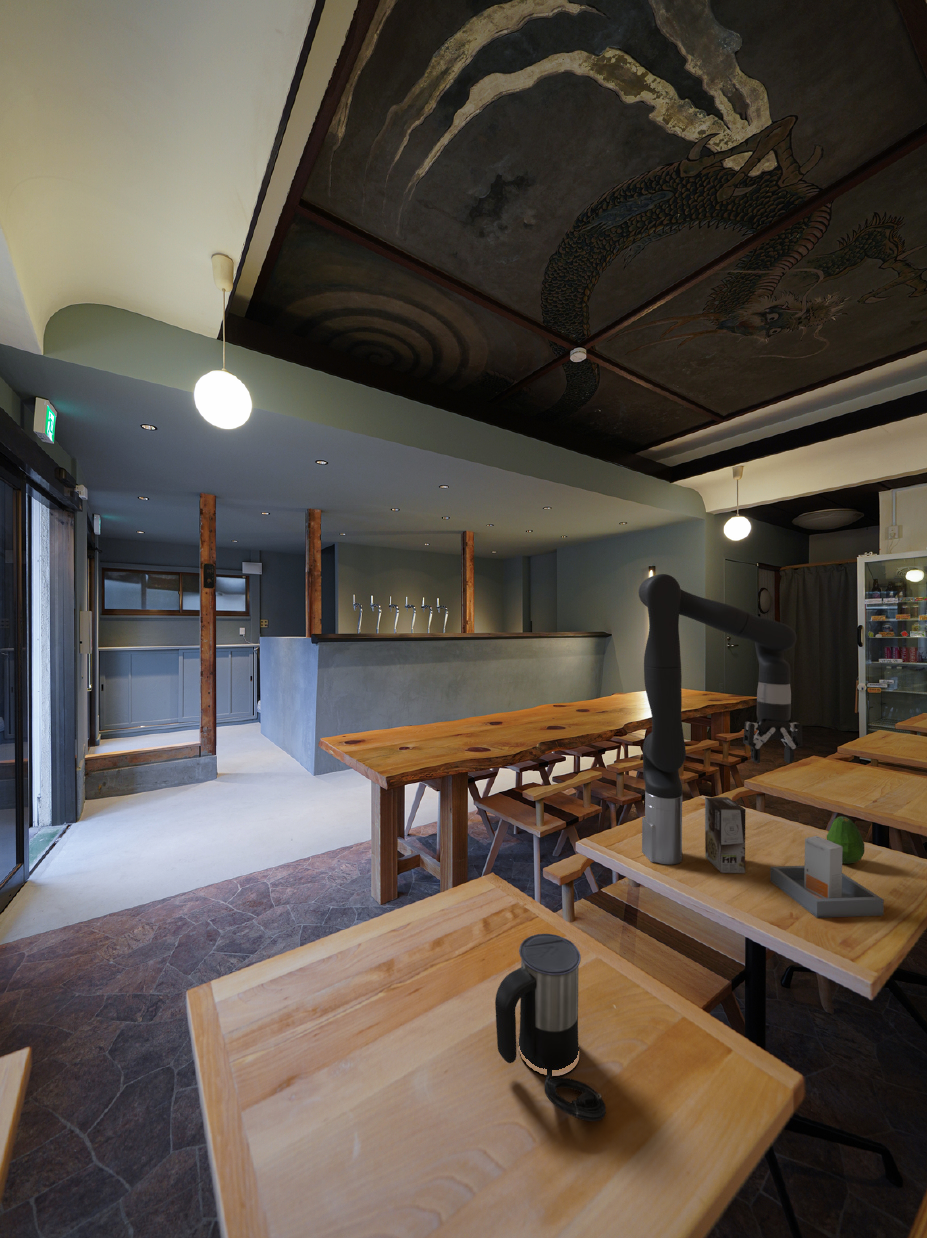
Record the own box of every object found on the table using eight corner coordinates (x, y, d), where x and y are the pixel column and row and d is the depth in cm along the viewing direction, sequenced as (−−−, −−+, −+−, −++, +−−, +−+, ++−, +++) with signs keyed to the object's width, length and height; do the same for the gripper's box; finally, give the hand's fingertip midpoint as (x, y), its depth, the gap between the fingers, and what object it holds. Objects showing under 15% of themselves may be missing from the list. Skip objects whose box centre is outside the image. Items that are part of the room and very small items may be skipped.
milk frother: (539, 1015, 82) (539, 925, 82) (634, 1072, 72) (635, 969, 72) (485, 1077, 72) (485, 972, 71) (588, 1154, 61) (588, 1032, 61)
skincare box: (803, 888, 119) (803, 837, 118) (816, 885, 120) (816, 835, 120) (830, 902, 113) (830, 849, 113) (843, 899, 114) (843, 846, 114)
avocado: (821, 861, 133) (822, 815, 133) (832, 852, 138) (832, 808, 138) (859, 873, 127) (859, 826, 127) (868, 864, 132) (869, 818, 132)
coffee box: (746, 873, 127) (746, 809, 127) (720, 873, 127) (720, 809, 127) (728, 856, 136) (728, 796, 136) (704, 856, 136) (704, 796, 136)
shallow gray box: (816, 918, 109) (817, 901, 109) (770, 881, 124) (770, 866, 124) (883, 915, 110) (883, 899, 109) (829, 879, 125) (829, 864, 124)
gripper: (755, 702, 128) (754, 766, 128) (810, 703, 129) (809, 767, 129) (738, 697, 136) (737, 758, 136) (790, 698, 136) (789, 758, 136)
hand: (772, 762), depth 132 cm, fingers open, 8 cm apart
